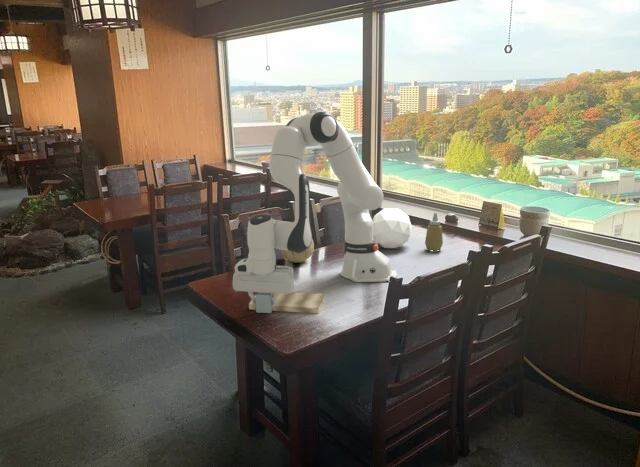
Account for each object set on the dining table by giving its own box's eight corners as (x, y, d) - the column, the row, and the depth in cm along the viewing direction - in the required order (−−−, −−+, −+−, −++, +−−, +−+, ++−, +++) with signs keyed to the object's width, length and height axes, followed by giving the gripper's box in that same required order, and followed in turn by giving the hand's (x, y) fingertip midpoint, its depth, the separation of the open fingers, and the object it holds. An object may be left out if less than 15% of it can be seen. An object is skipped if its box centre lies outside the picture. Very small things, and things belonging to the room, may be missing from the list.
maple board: (323, 299, 172) (323, 293, 171) (318, 313, 160) (318, 307, 160) (259, 295, 176) (258, 290, 175) (249, 309, 164) (248, 303, 164)
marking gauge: (280, 297, 173) (280, 280, 171) (270, 313, 160) (270, 295, 158) (267, 296, 174) (266, 279, 172) (256, 312, 161) (255, 294, 159)
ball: (384, 257, 238) (384, 220, 245) (420, 250, 225) (419, 211, 232) (361, 246, 224) (362, 207, 232) (398, 237, 212) (397, 196, 219)
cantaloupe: (318, 265, 207) (317, 231, 203) (284, 268, 203) (283, 234, 199) (308, 255, 220) (308, 223, 216) (277, 258, 216) (276, 226, 212)
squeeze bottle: (444, 249, 226) (447, 212, 221) (438, 254, 219) (441, 215, 215) (428, 247, 230) (430, 210, 225) (422, 251, 224) (423, 213, 219)
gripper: (295, 262, 159) (296, 301, 162) (236, 260, 162) (238, 298, 166) (291, 269, 153) (292, 309, 156) (229, 266, 156) (232, 305, 160)
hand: (264, 303), depth 161 cm, fingers closed on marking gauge, 5 cm apart
